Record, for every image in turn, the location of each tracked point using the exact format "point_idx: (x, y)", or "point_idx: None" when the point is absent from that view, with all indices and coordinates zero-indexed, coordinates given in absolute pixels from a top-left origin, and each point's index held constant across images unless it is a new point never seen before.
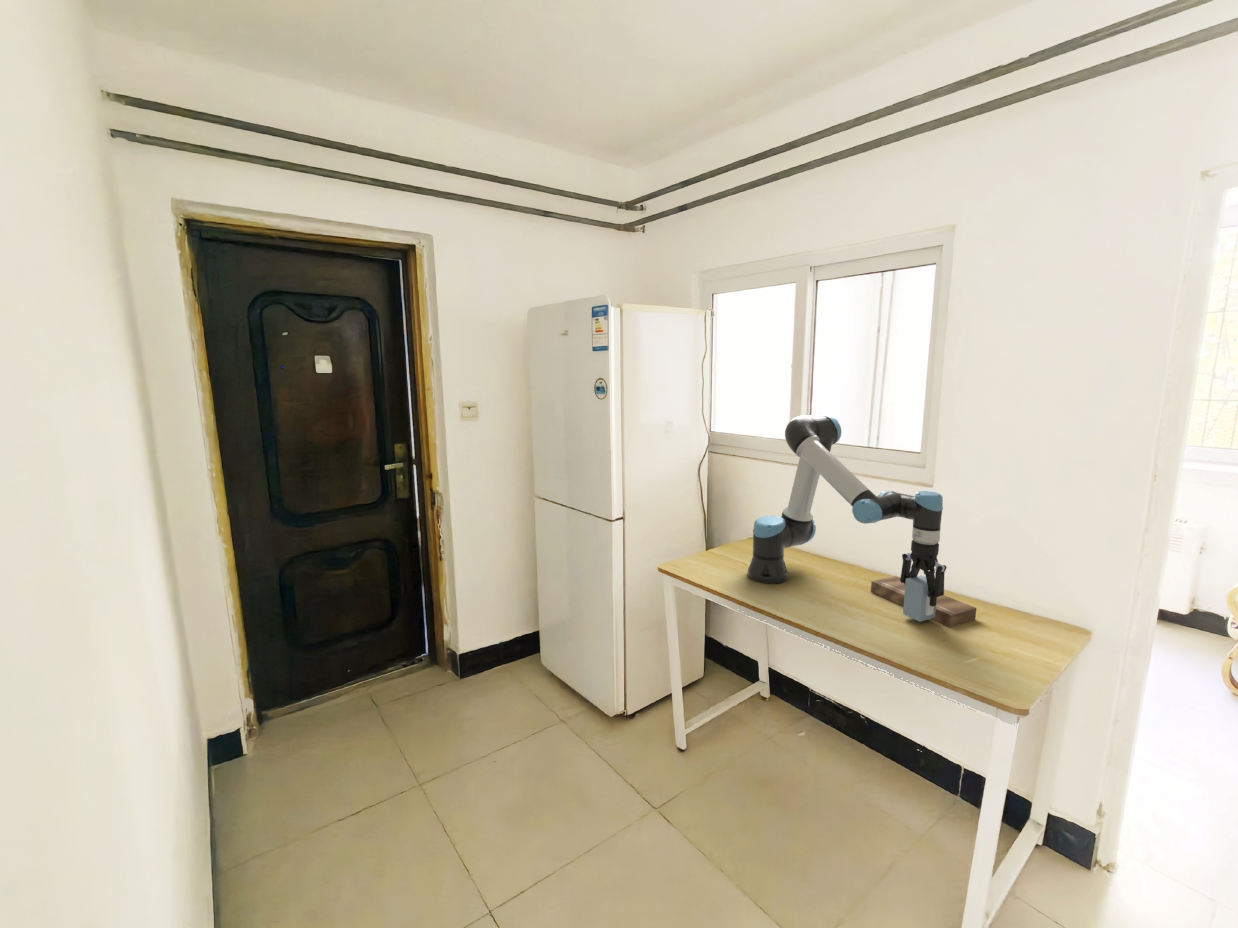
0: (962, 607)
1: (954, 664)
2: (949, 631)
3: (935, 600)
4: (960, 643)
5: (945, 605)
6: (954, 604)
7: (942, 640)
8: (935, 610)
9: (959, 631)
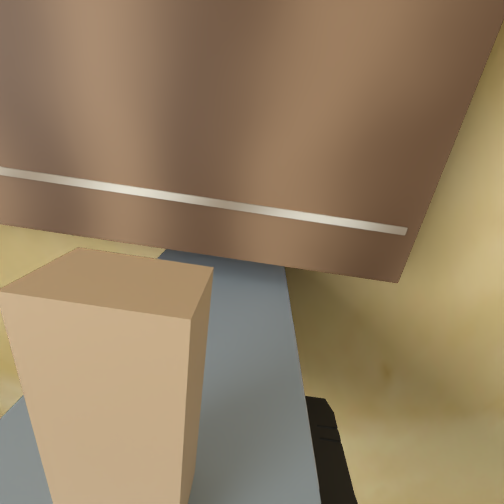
0: (426, 22)
1: (465, 477)
2: (375, 286)
3: (339, 463)
4: (448, 352)
5: (293, 134)
6: (339, 17)
7: (382, 379)
8: (287, 289)
9: (413, 247)
